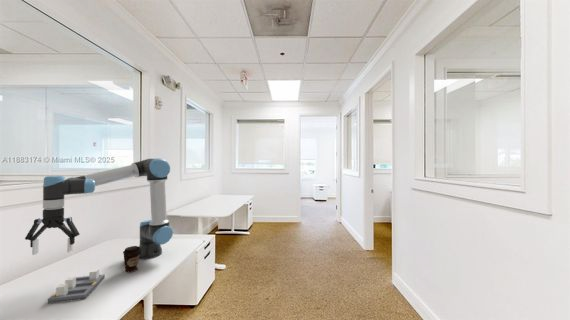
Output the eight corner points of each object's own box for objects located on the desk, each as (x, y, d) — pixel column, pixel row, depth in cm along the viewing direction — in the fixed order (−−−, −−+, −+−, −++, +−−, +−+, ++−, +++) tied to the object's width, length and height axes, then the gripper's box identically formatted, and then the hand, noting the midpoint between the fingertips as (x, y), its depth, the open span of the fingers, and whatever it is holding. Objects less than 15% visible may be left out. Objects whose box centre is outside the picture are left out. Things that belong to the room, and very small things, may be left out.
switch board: (104, 277, 133) (104, 273, 133) (85, 298, 113) (85, 293, 113) (73, 281, 129) (73, 277, 129) (47, 303, 109) (47, 298, 109)
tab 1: (67, 293, 115) (68, 283, 115) (64, 296, 112) (64, 286, 112) (60, 294, 114) (60, 284, 114) (56, 297, 111) (56, 287, 111)
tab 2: (75, 285, 122) (76, 276, 122) (72, 288, 119) (72, 279, 119) (68, 286, 121) (68, 277, 121) (65, 289, 118) (65, 280, 118)
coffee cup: (143, 268, 145) (143, 246, 145) (130, 274, 137) (130, 251, 137) (132, 266, 148) (132, 244, 148) (119, 272, 140) (119, 249, 140)
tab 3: (98, 277, 130) (98, 269, 131) (96, 280, 128) (96, 271, 128) (92, 278, 130) (92, 269, 130) (89, 281, 127) (89, 272, 127)
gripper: (88, 205, 126) (87, 247, 125) (27, 207, 119) (26, 252, 119) (80, 208, 118) (79, 253, 118) (14, 210, 111) (13, 258, 111)
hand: (52, 252), depth 118 cm, fingers open, 13 cm apart
